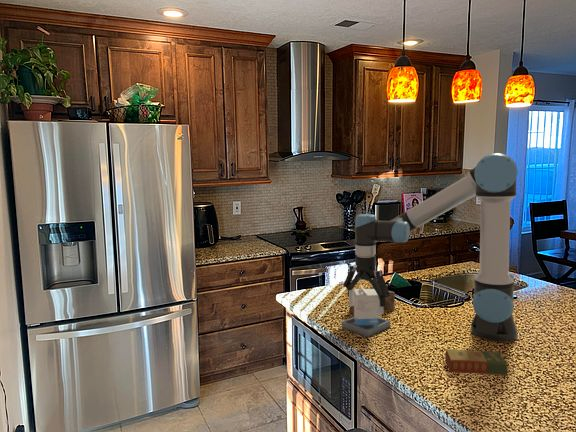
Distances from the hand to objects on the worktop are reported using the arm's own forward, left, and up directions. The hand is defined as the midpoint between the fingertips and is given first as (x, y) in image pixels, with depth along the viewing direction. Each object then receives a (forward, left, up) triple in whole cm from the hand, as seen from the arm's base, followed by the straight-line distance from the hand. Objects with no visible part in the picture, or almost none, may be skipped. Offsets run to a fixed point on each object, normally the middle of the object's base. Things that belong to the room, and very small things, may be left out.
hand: (365, 310), depth 163 cm
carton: (-43, +1, -8) cm, 44 cm away
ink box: (0, 0, -5) cm, 5 cm away
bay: (+9, -16, -7) cm, 20 cm away
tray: (0, 0, -7) cm, 7 cm away
